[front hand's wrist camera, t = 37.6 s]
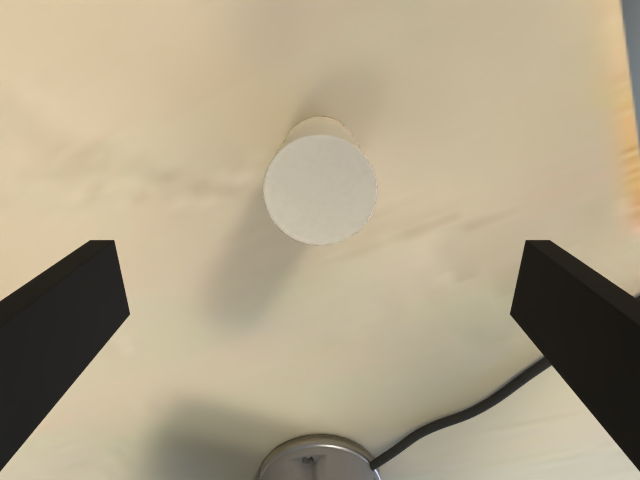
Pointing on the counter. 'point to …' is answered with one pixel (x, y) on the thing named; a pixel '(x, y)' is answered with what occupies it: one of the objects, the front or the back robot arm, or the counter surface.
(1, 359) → the front robot arm
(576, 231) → the counter surface
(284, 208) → the canister
